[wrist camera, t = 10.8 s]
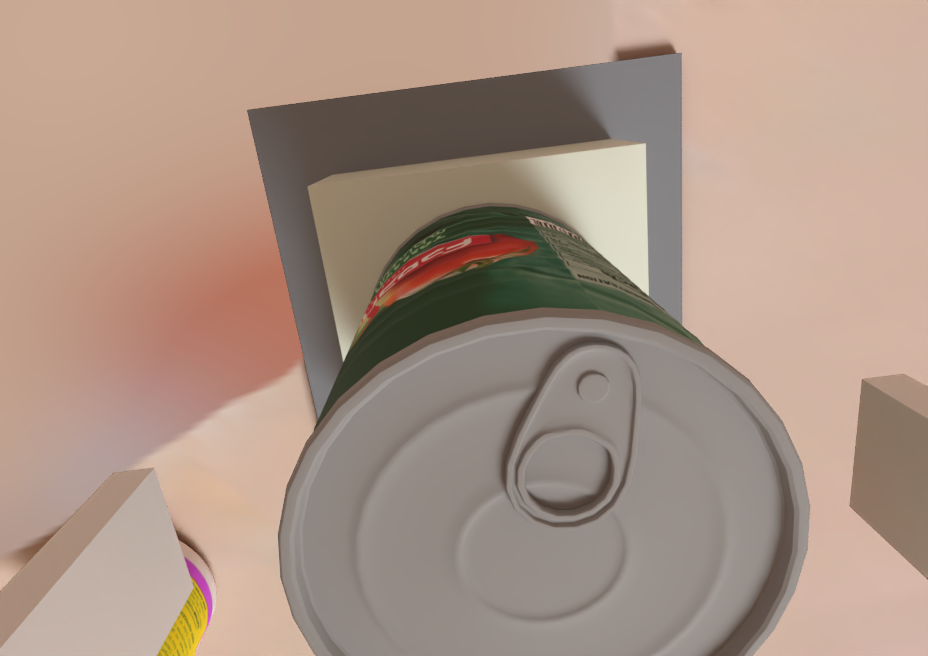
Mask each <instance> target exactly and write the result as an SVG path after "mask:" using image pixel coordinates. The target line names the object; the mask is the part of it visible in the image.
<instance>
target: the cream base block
mask: <svg viewBox="0 0 928 656" xmlns="http://www.w3.org/2000/svg"><path fill="white" fill-rule="evenodd" d="M308 192H309V197H310V202H311V206H312V211H313V216H314V221H315V226H316V231H317V236H318V241H319V245H320V250H321V255H322V260H323V265H324V270H325V275H326V280H327V285H328V289H329V294H330V299H331V304H332V309H333V314H334V319H335V324H336V328H337V333H338V338H339V343H340V348H341V353H342V358H343V362H344V360H345V357H346V355H347V353H348V350H349V348H350V346H351V343H352V341H353V339H354V337H355V334H356V332H357V330H358V327H359V325H360V323H361V321H362V318H363V316H364V314H365V311H366V309H367V307H368V305H369V302H370V300H371V298H372V296H373V293H374V288H375V286H376V284H377V282H378V279H379V277H380V275H381V273H382V270H383V268H384V266H385V265H386V263H387V262H388V260H389V259H390V258H391V256H392V255H393V253H394V252H395V251H396V249H397V248H398V246H399V245H401V244H402V243H403V242H404V241H405V240H406V239H407V238H408V237H409V236H410V235H411V234H412V233H414V232H415V231H416V230H417V229H418V228H420V227H421V226H423V225H425V224H426V223H428V222H430V221H431V220H433V219H435V218H436V217H438V216H440V215H442V214H445V213H448V212H451V211H453V210H456V209H459V208H462V207H466V206H472V205H479V204H486V203H501V204H517V205H521V206H524V207H528V208H532V209H536V210H540V211H542V212H544V213H546V214H549V215H551V216H553V217H555V218H557V219H559V220H561V221H563V222H564V223H566V224H567V225H568V226H569V227H571V228H572V229H573V230H575V231H576V232H577V233H578V234H580V235H581V236H582V237H583V238H584V239H585V240H586V241H587V242H588V244H589V245H591V246H592V247H593V248H595V249H596V250H597V251H598V252H599V253H600V254H601V255H603V257H604V258H606V259H607V260H608V261H609V262H611V264H612V265H614V266H615V267H616V268H617V269H619V270H620V272H621V273H623V274H624V275H625V276H627V277H628V278H629V279H630V280H631V281H632V282H633V283H634V284H636V285H637V286H638V287H639V288H640V289H641V290H642V291H643V292H644V293H646V294H647V295H648V296H649V276H648V228H647V179H646V143H640V142H632V141H624V140H616V139H606V140H598V141H590V142H583V143H575V144H567V145H559V146H551V147H544V148H536V149H528V150H520V151H513V152H505V153H497V154H489V155H481V156H474V157H466V158H458V159H450V160H442V161H435V162H427V163H419V164H411V165H404V166H396V167H388V168H380V169H372V170H365V171H357V172H349V173H341V174H334V175H331V176H329V177H327V178H325V179H322V180H320V181H318V182H316V183H314V184H312V185H310V186H308Z"/></svg>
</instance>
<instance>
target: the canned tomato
mask: <svg viewBox="0 0 928 656" xmlns="http://www.w3.org/2000/svg"><path fill="white" fill-rule="evenodd" d="M809 515H810V504H809V498H808V493H807V488H806V482H805V477H804V471H803V466H802V462H801V460H800V458H799V456H798V454H797V451H796V449H795V447H794V445H793V443H792V441H791V439H790V436H789V434H788V432H787V430H786V428H785V426H784V424H783V421H782V420H781V419H780V417H779V416H778V415H777V414H776V412H775V411H774V410H773V409H772V408H771V406H770V405H769V404H768V403H767V401H766V400H765V399H764V398H763V396H762V395H761V394H760V393H759V391H758V390H757V389H756V388H755V387H754V385H753V384H752V383H751V382H750V380H749V379H747V378H746V377H745V376H744V375H742V374H741V373H740V372H738V371H737V370H736V369H735V368H733V367H732V366H731V365H729V364H728V363H727V362H725V361H724V360H723V359H722V358H720V357H719V356H718V355H716V354H715V353H714V352H712V351H711V350H710V349H709V348H707V347H705V346H704V345H703V344H702V343H701V342H700V340H699V339H698V338H697V337H695V336H694V335H693V334H691V333H690V332H689V331H688V330H686V329H685V328H684V327H683V326H682V325H681V324H680V322H678V321H677V320H676V319H674V318H673V317H672V316H671V315H669V314H668V313H667V312H666V311H665V309H663V308H662V307H661V306H660V305H658V304H657V303H656V302H654V301H653V299H652V298H651V297H650V296H648V295H647V294H646V293H644V292H643V291H642V290H641V289H640V288H639V287H638V286H637V285H636V284H634V283H633V282H632V281H631V280H630V279H629V278H628V277H627V276H625V275H624V274H623V273H621V272H620V270H619V269H617V268H616V267H615V266H614V265H612V264H611V262H609V261H608V260H607V259H606V258H604V257H603V255H601V254H600V253H599V252H598V251H597V250H596V249H595V248H593V247H592V246H591V245H589V244H588V242H587V241H586V240H585V239H584V238H583V237H582V236H581V235H580V234H578V233H577V232H576V231H575V230H573V229H572V228H571V227H569V226H568V225H567V224H566V223H564V222H563V221H561V220H559V219H557V218H555V217H553V216H551V215H549V214H546V213H544V212H542V211H540V210H536V209H532V208H528V207H524V206H521V205H517V204H501V203H486V204H479V205H472V206H466V207H462V208H459V209H456V210H453V211H451V212H448V213H445V214H442V215H440V216H438V217H436V218H435V219H433V220H431V221H430V222H428V223H426V224H425V225H423V226H421V227H420V228H418V229H417V230H416V231H415V232H414V233H412V234H411V235H410V236H409V237H408V238H407V239H406V240H405V241H404V242H403V243H402V244H401V245H399V246H398V248H397V249H396V251H395V252H394V253H393V255H392V256H391V258H390V259H389V260H388V262H387V263H386V265H385V266H384V268H383V270H382V273H381V275H380V277H379V279H378V282H377V284H376V286H375V288H374V293H373V296H372V298H371V300H370V302H369V305H368V307H367V309H366V311H365V314H364V316H363V318H362V321H361V323H360V325H359V327H358V330H357V332H356V334H355V337H354V339H353V341H352V343H351V346H350V348H349V350H348V353H347V355H346V357H345V360H344V362H343V364H342V366H341V369H340V371H339V373H338V376H337V378H336V380H335V382H334V385H333V387H332V389H331V392H330V394H329V396H328V398H327V401H326V403H325V405H324V408H323V410H322V412H321V415H320V417H319V419H318V421H317V424H316V426H315V428H314V432H313V433H312V435H311V436H310V437H309V439H308V440H307V442H306V443H305V446H304V448H303V450H302V453H301V455H300V457H299V459H298V462H297V464H296V466H295V468H294V471H293V473H292V475H291V477H290V480H289V482H288V484H287V488H286V493H285V498H284V504H283V509H282V515H281V520H280V526H279V531H278V545H279V561H280V577H281V581H282V584H283V587H284V590H285V594H286V597H287V600H288V603H289V606H290V610H291V613H292V616H293V618H294V620H295V622H296V624H297V625H298V627H299V629H300V630H301V632H302V634H303V636H304V637H305V639H306V641H307V642H308V644H309V646H310V648H311V649H312V651H313V653H314V654H315V655H316V656H753V655H754V654H755V653H756V651H757V650H758V649H759V648H760V646H761V645H762V644H763V643H764V642H765V640H766V639H767V638H768V637H769V636H770V634H771V633H772V632H773V631H774V629H775V627H776V625H777V624H778V622H779V620H780V618H781V616H782V614H783V613H784V611H785V609H786V607H787V605H788V603H789V602H790V600H791V598H792V596H793V594H794V592H795V590H796V586H797V583H798V580H799V576H800V573H801V570H802V566H803V563H804V559H805V556H806V553H807V549H808V532H809Z"/></svg>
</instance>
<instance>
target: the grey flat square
mask: <svg viewBox="0 0 928 656" xmlns="http://www.w3.org/2000/svg"><path fill="white" fill-rule="evenodd" d="M247 112H248V116H249V120H250V125H251V129H252V133H253V138H254V142H255V146H256V151H257V155H258V160H259V164H260V169H261V173H262V177H263V182H264V186H265V190H266V195H267V199H268V204H269V208H270V212H271V216H272V221H273V225H274V230H275V234H276V238H277V243H278V247H279V252H280V256H281V260H282V264H283V269H284V273H285V278H286V282H287V286H288V291H289V295H290V300H291V304H292V308H293V313H294V317H295V321H296V326H297V330H298V335H299V339H300V343H301V348H302V352H303V356H304V361H305V365H306V370H307V374H308V378H309V383H310V387H311V391H312V396H313V400H314V405H315V409H316V413H317V418H318V419H319V417H320V415H321V412H322V410H323V408H324V405H325V403H326V401H327V398H328V396H329V394H330V392H331V389H332V387H333V385H334V382H335V380H336V378H337V376H338V373H339V371H340V369H341V366H342V364H343V358H342V353H341V348H340V343H339V338H338V333H337V328H336V324H335V319H334V314H333V309H332V304H331V299H330V294H329V289H328V285H327V280H326V275H325V270H324V265H323V260H322V255H321V250H320V245H319V241H318V236H317V231H316V226H315V221H314V216H313V211H312V206H311V202H310V197H309V192H308V186H310V185H312V184H314V183H316V182H318V181H320V180H322V179H325V178H327V177H329V176H331V175H334V174H341V173H349V172H357V171H365V170H372V169H380V168H388V167H396V166H404V165H411V164H419V163H427V162H435V161H442V160H450V159H458V158H466V157H474V156H481V155H489V154H497V153H505V152H513V151H520V150H528V149H536V148H544V147H551V146H559V145H567V144H575V143H583V142H590V141H598V140H606V139H616V140H624V141H632V142H640V143H646V179H647V228H648V276H649V296H650V297H651V298H652V299H653V301H654V302H656V303H657V304H658V305H660V306H661V307H662V308H663V309H665V311H666V312H667V313H668V314H669V315H671V316H672V317H673V318H674V319H676V320H677V321H678V322H680V324H681V325H682V53H676V54H668V55H661V56H653V57H645V58H638V59H630V60H623V61H615V62H608V63H600V64H592V65H585V66H577V67H570V68H562V69H555V70H547V71H540V72H532V73H524V74H517V75H509V76H502V77H494V78H486V79H479V80H471V81H464V82H456V83H448V84H440V85H433V86H426V87H418V88H410V89H402V90H396V91H388V92H380V93H372V94H365V95H357V96H349V97H343V98H335V99H327V100H319V101H311V102H304V103H296V104H289V105H281V106H274V107H266V108H259V109H251V110H247Z"/></svg>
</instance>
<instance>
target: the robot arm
mask: <svg viewBox="0 0 928 656" xmlns="http://www.w3.org/2000/svg"><path fill="white" fill-rule="evenodd" d="M850 507H851V508H852V509H853V510H854V511H855V512H856V513H857V514H858V515H859V516H860V517H861V518H863V519H864V520H865V521H866V522H867V523H868V524H869V525H870V526H871V527H872V528H873V529H874V530H875V531H876V532H877V533H879V534H880V535H881V536H882V537H883V538H884V539H885V540H886V541H887V542H888V543H889V544H890V545H891V546H892V547H893V548H895V549H896V550H897V551H898V552H899V553H900V554H901V555H902V556H903V557H904V558H905V559H906V560H907V561H908V562H910V563H911V564H912V565H913V566H914V567H915V568H916V569H917V570H918V571H919V572H920V573H921V574H922V575H923V576H924V577H926V578H927V579H928V387H927V386H926V385H924V384H922V383H920V382H918V381H916V380H914V379H912V378H911V377H909V376H907V375H905V374H899V375H891V376H883V377H875V378H867V379H862V385H861V395H860V405H859V415H858V426H857V436H856V446H855V456H854V466H853V477H852V487H851V497H850ZM193 588H194V586H193V583H192V580H191V577H190V574H189V571H188V568H187V565H186V562H185V559H184V556H183V553H182V550H181V547H180V544H179V541H178V538H177V535H176V532H175V529H174V526H173V523H172V520H171V517H170V514H169V511H168V508H167V505H166V502H165V499H164V496H163V493H162V489H161V486H160V483H159V480H158V477H157V474H156V471H155V468H148V469H140V470H132V471H124V472H117V473H113V474H112V475H111V476H110V477H109V478H108V479H107V480H106V481H105V482H104V483H103V484H102V485H101V486H100V487H99V489H98V490H97V491H96V492H95V493H94V494H93V495H92V496H91V497H90V498H89V499H88V500H87V501H86V502H85V503H84V504H83V505H82V506H81V507H80V508H79V509H78V510H77V511H76V513H75V514H74V515H73V516H72V517H71V518H70V519H69V520H68V521H67V522H66V523H65V524H64V525H63V526H62V527H61V528H60V529H59V530H58V531H57V532H56V533H55V534H54V535H53V537H52V538H51V539H50V540H49V541H48V542H47V543H46V544H45V545H44V546H43V547H42V548H41V549H40V550H39V551H38V552H37V553H36V554H35V555H34V556H33V557H32V558H31V560H30V561H29V562H28V563H27V564H26V565H25V566H24V567H23V568H22V569H21V570H20V571H19V572H18V573H17V574H16V575H15V576H14V577H13V578H12V579H11V580H10V581H9V582H8V584H7V585H6V586H5V587H4V588H3V589H2V590H1V591H0V656H157V654H158V652H159V650H160V648H161V647H162V645H163V643H164V641H165V639H166V637H167V636H168V634H169V632H170V630H171V628H172V626H173V625H174V623H175V621H176V619H177V617H178V615H179V614H180V612H181V610H182V608H183V606H184V604H185V603H186V601H187V599H188V597H189V595H190V593H191V592H192V590H193Z"/></svg>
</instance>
